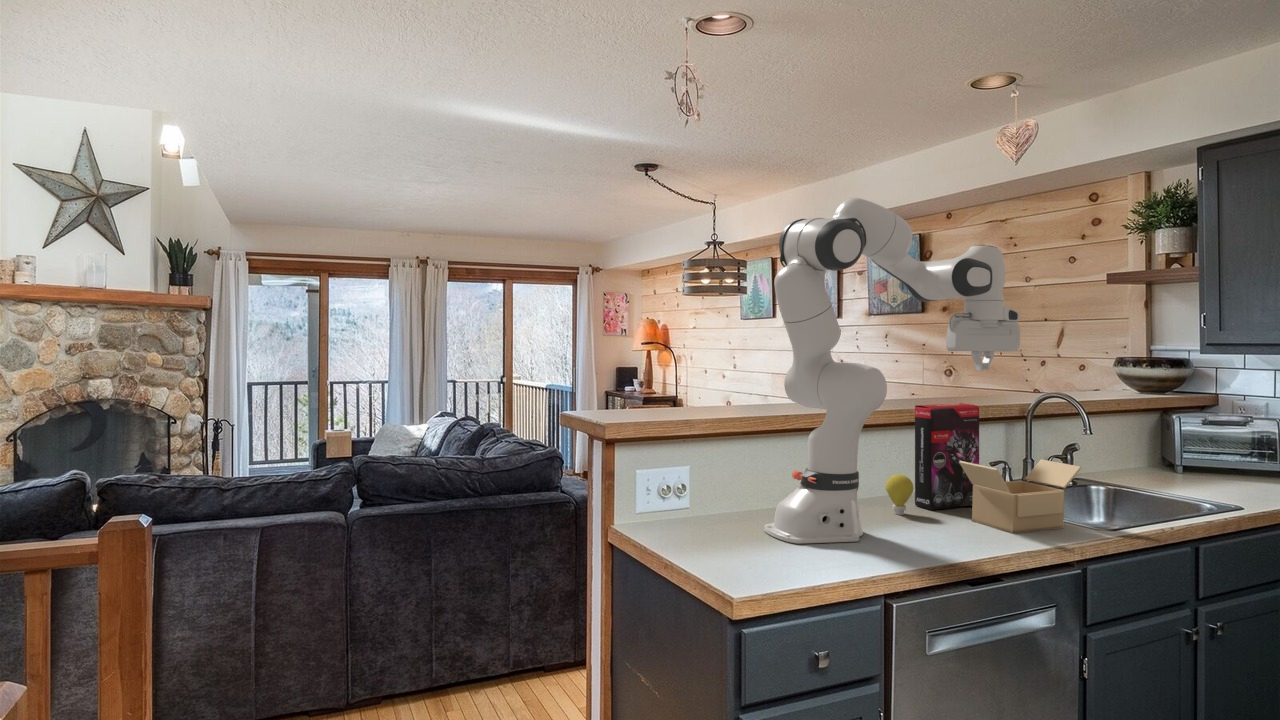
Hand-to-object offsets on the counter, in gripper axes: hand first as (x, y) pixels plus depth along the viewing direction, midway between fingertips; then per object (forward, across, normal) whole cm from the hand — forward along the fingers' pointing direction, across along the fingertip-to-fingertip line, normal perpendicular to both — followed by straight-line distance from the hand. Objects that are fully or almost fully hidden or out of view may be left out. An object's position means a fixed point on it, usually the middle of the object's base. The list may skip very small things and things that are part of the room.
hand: (982, 370), depth 177 cm
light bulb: (+37, -13, +13) cm, 42 cm away
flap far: (+28, +16, -5) cm, 32 cm away
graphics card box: (+37, +5, +16) cm, 41 cm away
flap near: (+28, -2, -5) cm, 28 cm away
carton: (+37, +7, -5) cm, 38 cm away
